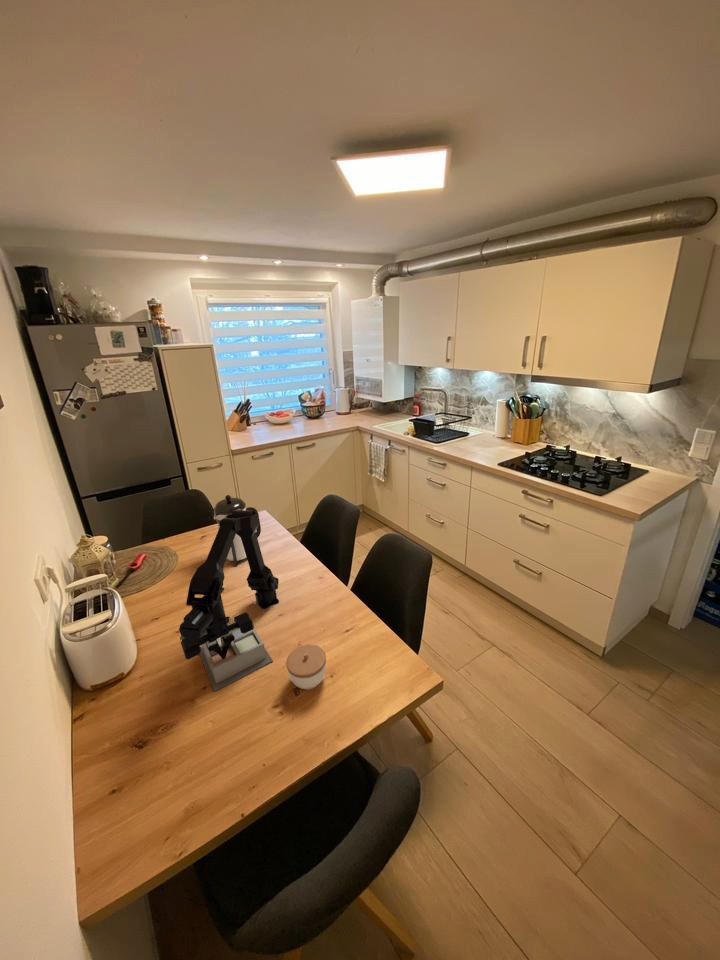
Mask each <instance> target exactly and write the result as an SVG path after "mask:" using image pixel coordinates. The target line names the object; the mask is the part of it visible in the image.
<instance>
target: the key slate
mask: <svg viewBox="0 0 720 960" xmlns="http://www.w3.org/2000/svg"><path fill="white" fill-rule="evenodd" d="M242 634H244V633H241V632H240V628H239V629H238V630H236V631H234V632H233V635H234V637H235V638H236V637H238V636H240V635H242Z"/></svg>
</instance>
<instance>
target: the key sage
mask: <svg viewBox="0 0 720 960" xmlns="http://www.w3.org/2000/svg"><path fill="white" fill-rule="evenodd" d="M256 645H258V642H257V641H256V639H255V637H254V636H253V635H251V636H249V637H246V638H244V639H242V640H240V641H238V642H236V643H235V646H236V648H237V649H238V651H239V653H242V652H244V651H246V650H248V649H250V648H252V647H254V646H256Z"/></svg>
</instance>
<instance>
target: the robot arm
mask: <svg viewBox="0 0 720 960" xmlns="http://www.w3.org/2000/svg"><path fill="white" fill-rule="evenodd" d="M258 515H259V514H258ZM258 515H257V513H256V511H253V510H234V511H233V513H231V514H229V515H226V516H225V518H223V519H221V521H220V523H219V527H220V528H218V530H217V533H216V536H215V537H214V540H213V542H212V544H211V547H210V550H209V551H208V554H207V556H206V559H205V560H204V562H203V563H202V564H201V565H200V566H198V567H197V569H196V570H195V572H194V574H193V575H192V576H191V577H192V578H191V580H190V582H189V586H188V590H187V597H186V602H185V603H186V604H185V605H186V607H187V606H188V607H189V606H190V607H191V610H190V611H189V612H188V613H187V614H186V615H185V616H184V617H183V621H182V622H181V623H180V625H179V628H178V631H179V633H180V636H181V635H182V636H183V637H184V638H185V639H181V642H180V645H181V649H182V651H183V654H184V657H185V660H190V659H193V658H195V657H196V656H200V652H201V649H200V648H201V646H202V645H203V644H206V646H207V648H208V651H214V652H216V653H217V654H219V656H220V657H221V658H222V659H224V658H226V655H227V652H228V649H229V647H230V645H231V643H232V641H234V640H235V637H234V635H233V632H234V631H236V630H238V629H239V628H240V632H241V633H244V634H245V633H247V632H249V631H251V630H253V629H255V626H254V622H253V620H252V618H251V616H250V615H249V613H248V612H242V613H240V614H238V615H236V616H233V622H231V623H229V624H230V625H229V624H228V623H227V620H226V617H227V616H226V612H225V608H224V607H225V606H224V603H223V599H222V593H223V592H224V591H225V587H223V586H224V581H225V578H226V577H225V572H224V566H225V564H226V561H227V560H228V559H227V556H228V553H229V551H230V548H231V545H232V543H233V540H234V537H235V535H236V534H237V535H238V536H240V537H241V540H242V544H243V547H244V550H245V554H246V557H247V558H246V560H247V564H248V566H249V570H250V571H249V572H248V573H249V574H248V575H247V578H246V582H247V584H248V587H249V588H250V590H251V591H255V592H254V595H255V596H254V597H255V602H256V604H257V605H258V606H259V607H260V608H261V609H262V610H265V609H267V608H270V607H272V606H274V605H276V604H278V603H280V600H279V599H278V597H277V591H276V590H278V589H279V578H278V577H276V576H274V574H273V572H272V570H271V568H269V567H268V566H267V565H266V564H265V561H264V558H263V554H262V551H261V546H260V543H259V539H258V538H257V535H256V531H257V530H256V529H257V527H258V525H259V522H258ZM196 596H202V597H196ZM234 622H235V623H234ZM204 631H205V632H206V635H203V636H201V635H202V634H203V633H204ZM218 638H221V647H222V650H221V648H220V646H219V644H218V642H217V639H218Z"/></svg>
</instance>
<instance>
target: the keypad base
mask: <svg viewBox="0 0 720 960" xmlns="http://www.w3.org/2000/svg"><path fill="white" fill-rule="evenodd" d="M233 623H235V621H233ZM230 624H231V623H229V625H230ZM251 635H253V636H254V637H255V639H256V641H257V642H258V645H256V646H254V647H252V648H250V649H248V650H246V651H244V652H242V653H239V651H238V649H237V648H236V646H235V643H236V642H238V641H240V640H242V639H244V638H246V637H249V636H251ZM219 646H220V648H221V650H222V647H221V645H219ZM229 648H231V650H232V652H233V654H234V657H231V658H229V659H227V660H225V661H223V662H221V663H219V664H217V665H214V663H213V660H212V656H215V655H217V653H216V652H214V651H208V649H207V646H206V644H203V645H201V646H200V649H201V652H200V654H199V656H200V658H201V661H202V663H203V666H204V669H205V671H206V674H207V676H208V679H209V682H210V684H211V686H212V689H213V692H217V691H220V690H222V689H223V688H225V687H227V686H229V685H231V684H233V683H235V682H236V681H239V680H240V679H242V678H245V677H246V676H248V675H251V673H253V672H256V671H258V670H259V669H263V668H264V667H266V666H268V665H269V664H271V663H273V659H272V657H271V656H270V654H269V652H268V650H267V648H266V647H265V643H264V642H263V640H262V639H261V637H260V635H259V634H258V632H257V630H256V629H255V628H254V629H253V630H251V631H249V632H247V633H245V634H242V635H240V636H238V637H236V638H235V640H234V641H232V643H231V645H230V647H229Z"/></svg>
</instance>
